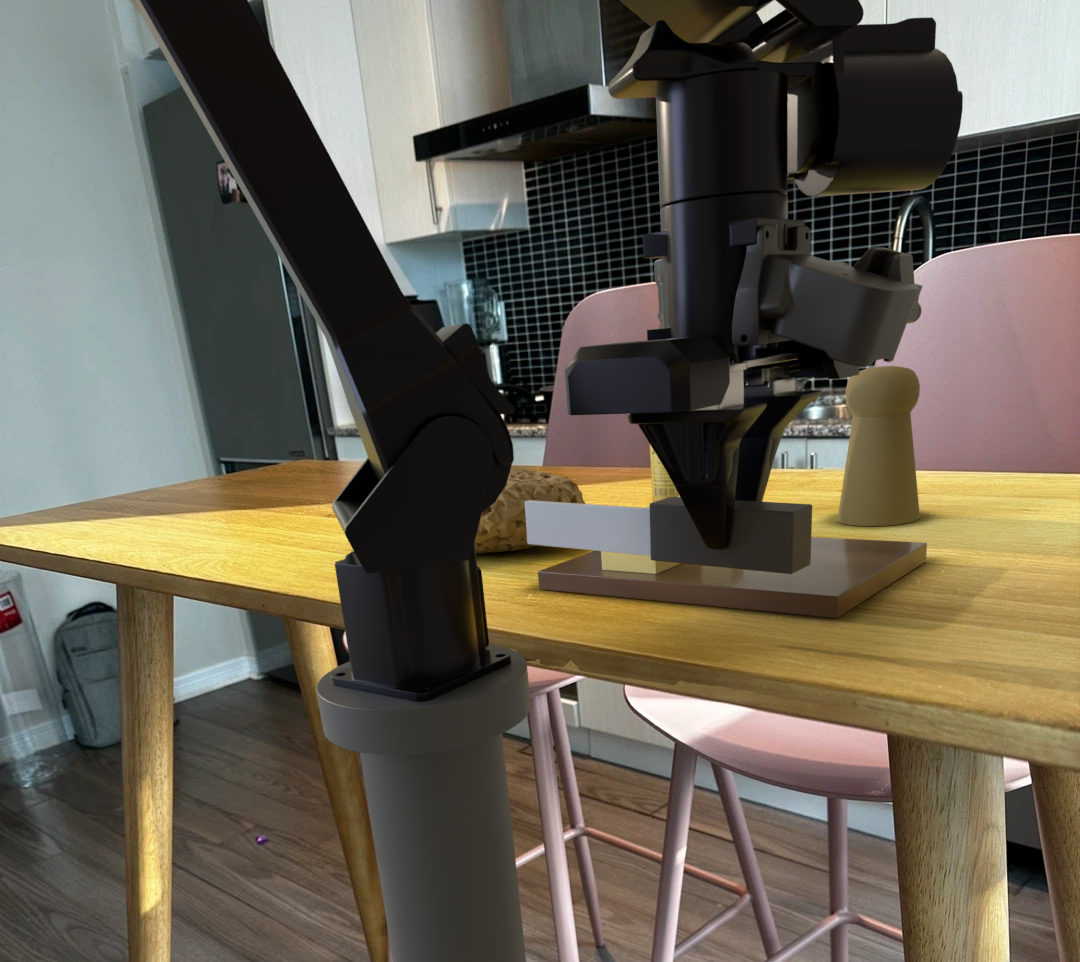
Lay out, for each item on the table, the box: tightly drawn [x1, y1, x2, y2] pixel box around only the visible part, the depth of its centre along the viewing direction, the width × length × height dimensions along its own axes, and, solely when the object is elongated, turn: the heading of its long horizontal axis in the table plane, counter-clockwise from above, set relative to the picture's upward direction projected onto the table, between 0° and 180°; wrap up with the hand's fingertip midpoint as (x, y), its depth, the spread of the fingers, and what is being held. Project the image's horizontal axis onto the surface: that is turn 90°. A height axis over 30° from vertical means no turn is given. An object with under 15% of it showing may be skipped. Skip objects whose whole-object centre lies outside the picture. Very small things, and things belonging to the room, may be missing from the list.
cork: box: [837, 365, 921, 527], centre depth 77 cm, size 6×6×11 cm
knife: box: [525, 497, 813, 574], centre depth 55 cm, size 2×17×3 cm, turn 52°
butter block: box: [601, 506, 681, 574], centre depth 65 cm, size 6×4×3 cm
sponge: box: [475, 465, 586, 554], centre depth 80 cm, size 13×8×20 cm
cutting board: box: [537, 536, 928, 619], centre depth 65 cm, size 14×20×1 cm
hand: (729, 543), depth 52 cm, fingers closed on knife, 2 cm apart
